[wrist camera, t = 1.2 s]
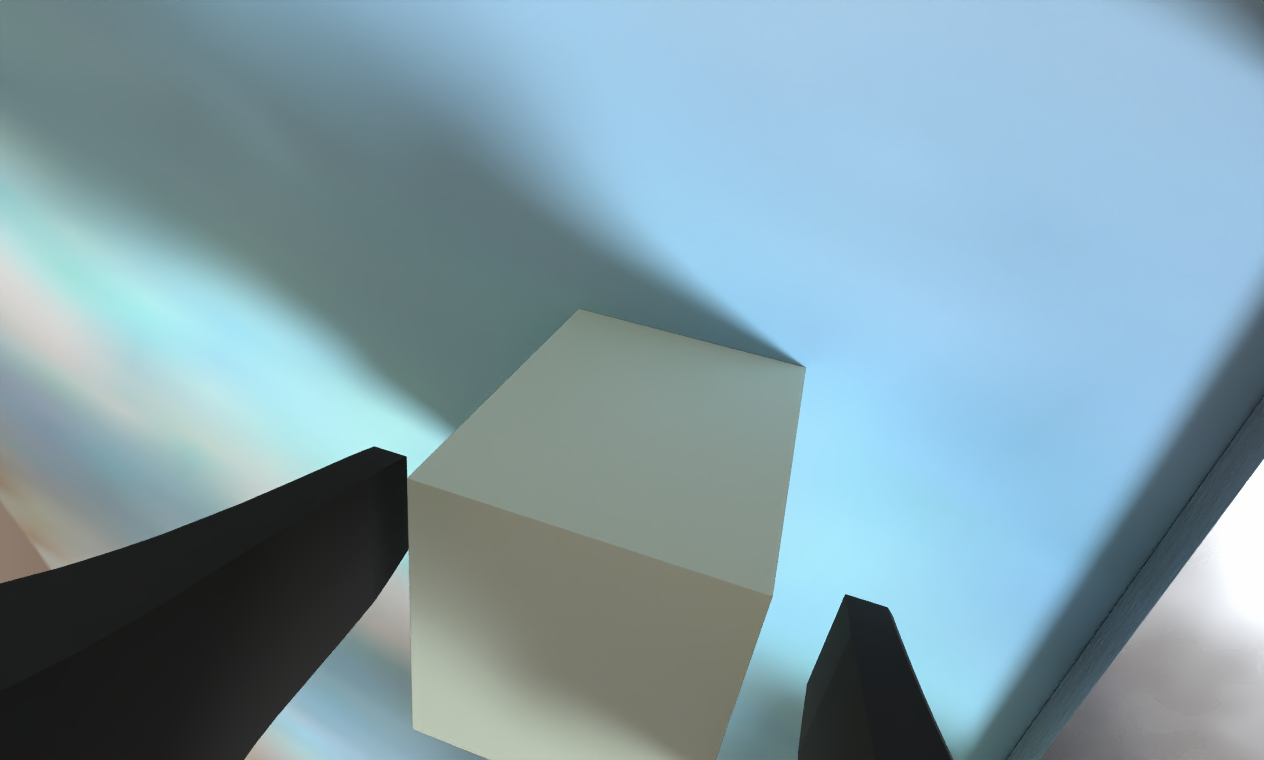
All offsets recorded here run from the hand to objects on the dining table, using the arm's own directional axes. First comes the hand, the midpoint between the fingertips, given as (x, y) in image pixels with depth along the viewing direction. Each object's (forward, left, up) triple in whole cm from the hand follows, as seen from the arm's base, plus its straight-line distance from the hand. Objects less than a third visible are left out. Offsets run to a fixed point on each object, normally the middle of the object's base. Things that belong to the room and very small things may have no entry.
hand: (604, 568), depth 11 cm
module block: (0, 0, -4) cm, 4 cm away
